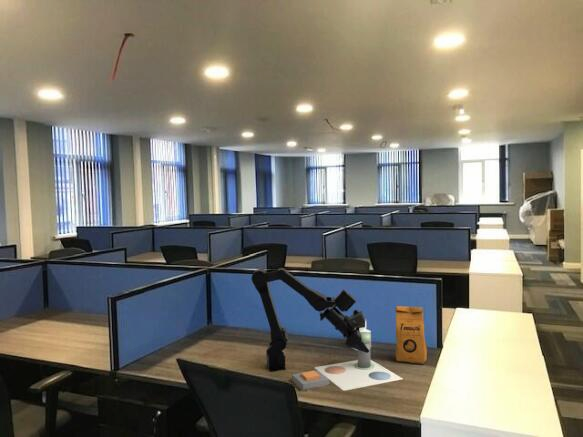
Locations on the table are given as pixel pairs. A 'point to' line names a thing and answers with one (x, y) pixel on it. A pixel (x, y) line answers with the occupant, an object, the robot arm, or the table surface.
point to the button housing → (311, 383)
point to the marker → (364, 357)
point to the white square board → (356, 374)
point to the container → (363, 330)
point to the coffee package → (410, 335)
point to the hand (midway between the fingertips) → (367, 348)
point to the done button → (310, 375)
